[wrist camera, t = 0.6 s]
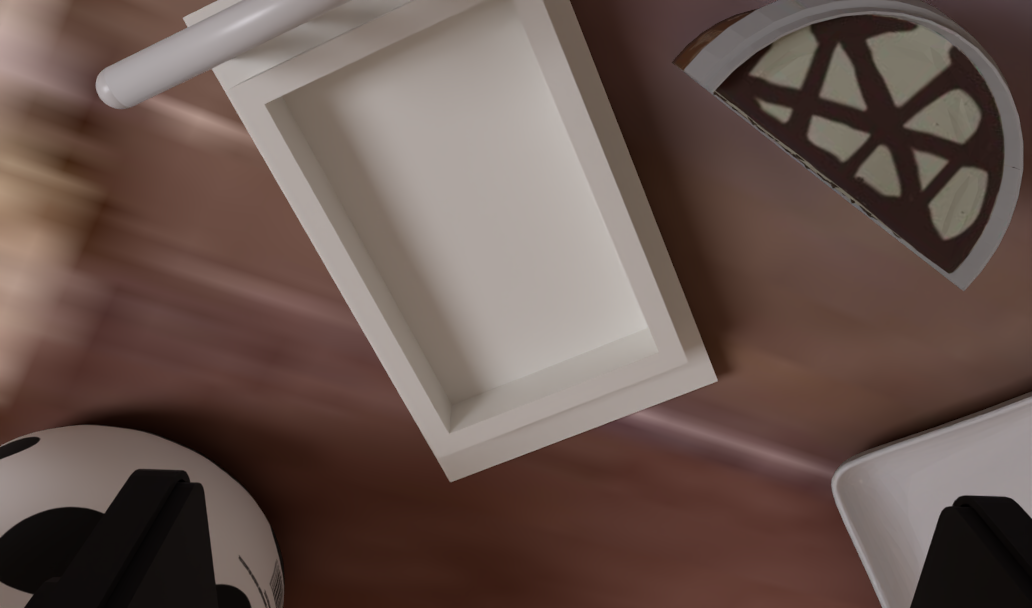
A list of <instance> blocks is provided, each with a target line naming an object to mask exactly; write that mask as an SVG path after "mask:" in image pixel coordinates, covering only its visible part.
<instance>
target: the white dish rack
mask: <svg viewBox="0 0 1032 608" xmlns="http://www.w3.org/2000/svg"><path fill="white" fill-rule="evenodd" d="M183 20H184V21H185V23H186V25H187V26H188V28H186V29H184V30H182V31H180V32H178V33H176V34H174V35H172V36H170V37H168V38H166V39H163V40H161V41H159V42H157V43H155V44H153V45H151V46H149V47H147V48H145V49H143V50H141V51H139V52H137V53H135V54H133V55H131V56H129V57H127V58H125V59H123V60H121V61H119V62H117V63H115V64H113V65H111V66H109V67H107V68H105V69H104V70H102V71H101V72H100V74H99V75H98V77H97V80H96V90H97V93H98V95H99V97H100V98H101V100H102V101H103V102H104V103H106V104H107V105H109V106H110V107H113V108H116V109H127V108H130V107H133V106H135V105H137V104H139V103H141V102H143V101H145V100H147V99H149V98H152V97H154V96H156V95H158V94H160V93H162V92H164V91H166V90H168V89H170V88H173V87H175V86H177V85H179V84H181V83H183V82H185V81H187V80H189V79H191V78H193V77H196V76H198V75H200V74H202V73H204V72H206V71H208V70H210V69H212V70H213V72H214V73H215V75H216V77H217V79H218V80H219V82H220V84H221V85H222V87H223V89H224V91H225V92H226V94H227V96H228V98H229V99H230V101H231V103H232V105H233V106H234V108H235V110H236V111H237V113H238V115H239V117H240V118H241V120H242V122H243V124H244V125H245V127H246V129H247V131H248V132H249V134H250V136H251V137H252V139H253V141H254V143H255V144H256V146H257V148H258V150H259V151H260V153H261V155H262V157H263V158H264V160H265V162H266V164H267V165H268V167H269V169H270V170H271V172H272V174H273V176H274V177H275V179H276V181H277V183H278V184H279V186H280V188H281V190H282V191H283V193H284V195H285V196H286V198H287V200H288V202H289V203H290V205H291V207H292V209H293V210H294V212H295V214H296V216H297V217H298V219H299V221H300V222H301V224H302V226H303V228H304V229H305V231H306V233H307V235H308V236H309V238H310V240H311V242H312V243H313V245H314V247H315V249H316V250H317V252H318V254H319V255H320V257H321V259H322V261H323V262H324V264H325V266H326V268H327V269H328V271H329V273H330V275H331V276H332V278H333V280H334V281H335V283H336V285H337V287H338V288H339V290H340V292H341V294H342V295H343V297H344V299H345V301H346V302H347V304H348V306H349V307H350V309H351V311H352V313H353V314H354V316H355V318H356V320H357V321H358V323H359V325H360V327H361V328H362V330H363V332H364V334H365V335H366V337H367V339H368V340H369V342H370V344H371V346H372V347H373V349H374V351H375V353H376V354H377V356H378V358H379V360H380V361H381V363H382V365H383V366H384V368H385V370H386V372H387V373H388V375H389V377H390V379H391V380H392V382H393V384H394V386H395V387H396V389H397V391H398V392H399V394H400V396H401V398H402V399H403V401H404V403H405V405H406V406H407V408H408V410H409V412H410V413H411V415H412V417H413V419H414V420H415V422H416V424H417V425H418V427H419V429H420V431H421V432H422V434H423V436H424V438H425V439H426V441H427V443H428V445H429V446H430V448H431V450H432V451H433V453H434V455H435V457H436V458H437V460H438V462H439V464H440V465H441V467H442V469H443V471H444V472H445V474H446V476H447V478H448V479H449V481H450V482H453V481H456V480H458V479H461V478H463V477H466V476H469V475H471V474H474V473H477V472H479V471H482V470H485V469H487V468H490V467H493V466H495V465H498V464H500V463H503V462H506V461H508V460H511V459H514V458H516V457H519V456H522V455H524V454H527V453H529V452H532V451H535V450H537V449H540V448H543V447H545V446H548V445H551V444H553V443H556V442H558V441H561V440H564V439H566V438H569V437H572V436H574V435H577V434H580V433H582V432H585V431H588V430H590V429H593V428H595V427H598V426H601V425H603V424H606V423H609V422H611V421H614V420H617V419H619V418H622V417H624V416H627V415H630V414H632V413H635V412H638V411H640V410H643V409H646V408H648V407H651V406H653V405H656V404H659V403H661V402H664V401H667V400H669V399H672V398H675V397H677V396H680V395H682V394H685V393H688V392H690V391H693V390H696V389H698V388H701V387H704V386H706V385H709V384H712V383H714V382H717V381H718V380H717V377H716V375H715V372H714V370H713V367H712V364H711V362H710V359H709V357H708V354H707V352H706V349H705V346H704V344H703V341H702V339H701V336H700V334H699V331H698V328H697V326H696V323H695V321H694V318H693V316H692V313H691V310H690V308H689V305H688V303H687V300H686V298H685V295H684V292H683V290H682V287H681V285H680V282H679V280H678V277H677V274H676V272H675V269H674V267H673V264H672V262H671V259H670V256H669V254H668V251H667V249H666V246H665V244H664V241H663V238H662V236H661V233H660V231H659V228H658V226H657V223H656V221H655V218H654V215H653V213H652V210H651V208H650V205H649V203H648V200H647V197H646V195H645V192H644V190H643V187H642V185H641V182H640V179H639V177H638V174H637V172H636V169H635V167H634V164H633V161H632V159H631V156H630V154H629V151H628V149H627V146H626V143H625V141H624V138H623V136H622V133H621V131H620V128H619V125H618V123H617V120H616V118H615V115H614V113H613V110H612V107H611V105H610V102H609V100H608V97H607V95H606V92H605V89H604V87H603V84H602V82H601V79H600V77H599V74H598V72H597V69H596V66H595V64H594V61H593V59H592V56H591V54H590V51H589V48H588V46H587V43H586V41H585V38H584V36H583V33H582V30H581V28H580V25H579V23H578V20H577V18H576V15H575V12H574V10H573V7H572V5H571V2H570V0H218V1H216V2H214V3H212V4H210V5H208V6H206V7H204V8H202V9H200V10H198V11H196V12H194V13H192V14H190V15H188V16H186V17H184V18H183Z"/></svg>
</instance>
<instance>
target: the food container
mask: <svg viewBox="0 0 1032 608" xmlns="http://www.w3.org/2000/svg"><path fill="white" fill-rule="evenodd" d="M672 63H673V64H674V65H676V66H677V67H678V68H679V69H681V70H682V71H683V72H685V73H686V74H687V75H688V76H690V77H691V78H692V79H693V80H695V81H696V82H697V83H698V84H700V85H701V86H702V87H704V88H705V89H706V90H707V91H709V92H710V93H711V94H712V95H714V96H715V97H716V98H717V99H719V100H720V101H721V102H723V103H724V104H725V105H726V106H728V107H729V108H730V109H731V110H733V111H734V112H735V113H736V114H738V115H739V116H740V117H742V118H743V119H744V120H745V121H747V122H748V123H749V124H750V125H752V126H753V127H754V128H755V129H757V130H758V131H759V132H761V133H762V134H763V135H764V136H766V137H767V138H768V139H769V140H771V141H772V142H773V143H774V144H776V145H777V146H778V147H780V148H781V149H782V150H783V151H785V152H786V153H787V154H788V155H790V156H791V157H792V158H793V159H795V160H796V161H797V162H799V163H800V164H801V165H802V166H804V167H805V168H806V169H807V170H809V171H810V172H811V173H812V174H814V175H815V176H816V177H818V178H819V179H820V180H821V181H823V182H824V183H825V184H826V185H828V186H829V187H830V188H831V189H833V190H834V191H835V192H837V193H838V194H839V195H840V196H842V197H843V198H844V199H846V200H847V201H848V202H849V203H851V204H852V205H853V206H855V207H856V208H857V209H859V210H860V211H861V212H862V213H864V214H865V215H866V216H868V217H869V218H870V219H871V220H873V221H874V222H875V223H877V224H878V225H879V226H880V227H882V228H883V229H884V230H886V231H887V232H888V233H889V234H891V235H892V236H893V237H895V238H896V239H897V240H898V241H900V242H901V243H902V244H904V245H905V246H906V247H908V248H909V249H910V250H911V251H913V252H914V253H915V254H917V255H918V256H919V257H920V258H922V259H923V260H924V261H926V262H927V263H928V264H929V265H931V266H932V267H933V268H935V269H936V270H937V271H938V272H940V273H941V274H942V275H943V276H945V277H946V278H947V279H949V280H950V281H951V282H952V283H954V284H955V285H956V286H958V287H959V288H960V289H962V290H963V291H965V289H966V288H967V287H968V286H969V285H970V284H971V283H972V281H973V280H974V279H975V278H976V277H977V276H978V275H979V274H980V272H981V271H982V270H983V268H984V267H985V265H986V264H987V262H988V261H989V259H990V258H991V257H992V255H993V254H994V252H995V251H996V249H997V248H998V246H999V244H1000V242H1001V240H1002V238H1003V236H1004V234H1005V232H1006V230H1007V228H1008V226H1009V224H1010V221H1011V218H1012V215H1013V212H1014V209H1015V206H1016V203H1017V200H1018V197H1019V191H1020V185H1021V179H1022V173H1023V138H1022V132H1021V126H1020V120H1019V115H1018V112H1017V110H1016V106H1015V103H1014V100H1013V98H1012V95H1011V92H1010V89H1009V86H1008V83H1007V81H1006V80H1005V78H1004V76H1003V75H1002V73H1001V71H1000V69H999V68H998V66H997V64H996V63H995V61H994V59H993V58H992V57H991V56H990V55H989V54H988V52H987V51H986V50H985V49H984V48H983V47H982V46H981V45H980V43H979V42H978V41H977V40H976V39H975V38H974V37H973V36H972V35H970V34H969V33H968V32H967V31H966V30H964V29H963V28H962V27H961V26H960V25H958V24H957V23H956V22H954V21H953V20H952V19H950V18H949V17H947V16H946V15H945V14H943V13H942V12H941V11H939V10H938V9H937V8H935V7H933V6H931V5H929V4H927V3H925V2H922V1H920V0H778V1H776V2H774V3H771V4H769V5H767V6H764V7H762V8H760V9H756V10H751V11H748V12H744V13H741V14H737V15H734V16H732V17H730V18H728V19H725V20H723V21H721V22H719V23H717V24H715V25H714V26H712V27H711V28H709V29H707V30H706V31H704V32H703V33H701V34H700V35H699V36H698V37H697V38H695V39H694V40H693V41H692V42H691V43H689V44H688V45H687V46H686V47H685V48H684V49H683V51H682V52H681V53H680V54H679V55H678V56H677V57H676V59H675V60H674V61H673V62H672Z"/></svg>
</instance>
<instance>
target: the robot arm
mask: <svg viewBox="0 0 1032 608" xmlns="http://www.w3.org/2000/svg"><path fill="white" fill-rule="evenodd" d="M24 608H218V600H217V591H216V583H215V575H214V567H213V558H212V550H211V542H210V534H209V525H208V517H207V509H206V501H205V493H204V488H203V486H202V484H201V483H198V482H190V478H189V476H188V474H187V472H186V471H184V470H164V469H137V470H135V471H134V472H133V473H132V474H131V475H130V476H129V478H128V479H127V481H126V482H125V484H124V485H123V487H122V488H121V490H120V491H119V493H118V494H117V496H116V497H115V499H114V500H113V501H112V503H111V504H110V506H109V507H108V509H107V510H106V512H105V513H104V515H103V516H102V518H101V519H100V521H99V522H98V524H97V525H96V526H95V528H94V529H93V531H92V532H91V534H90V535H89V537H88V538H87V540H86V541H85V543H84V544H83V546H82V547H81V549H80V550H79V551H78V553H77V554H76V556H75V557H74V559H73V560H72V562H71V563H70V565H69V566H68V568H67V569H66V571H65V572H64V574H63V575H62V576H61V577H52V578H51V579H49V580H47V581H45V582H44V583H43V584H42V585H41V586H40V587H39V588H38V589H37V591H36V592H35V593H34V594H33V596H32V597H31V599H30V600H29V601H28V603H27V604H26V606H25V607H24ZM910 608H1032V518H1031V517H1030V516H1029V515H1028V514H1027V513H1026V512H1025V511H1024V509H1023V508H1022V507H1021V506H1020V505H1019V504H1018V503H1017V502H1016V501H1014V500H1013V499H1012V498H1009V497H1005V496H973V495H964V496H960V497H958V498H957V499H956V500H955V501H954V503H953V505H952V506H948V507H945V508H944V509H943V510H942V511H941V514H940V516H939V519H938V522H937V525H936V528H935V531H934V534H933V537H932V541H931V544H930V547H929V550H928V553H927V556H926V559H925V562H924V566H923V569H922V572H921V575H920V578H919V581H918V584H917V587H916V591H915V594H914V597H913V600H912V603H911V606H910Z"/></svg>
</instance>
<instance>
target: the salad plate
mask: <svg viewBox="0 0 1032 608" xmlns="http://www.w3.org/2000/svg"><path fill="white" fill-rule="evenodd" d="M831 486H832V492H833V496H834V499H835V502H836V505H837V507H838V510H839V512H840V514H841V517H842V519H843V522H844V524H845V526H846V529H847V531H848V533H849V535H850V537H851V539H852V541H853V543H854V546H855V548H856V550H857V552H858V554H859V557H860V559H861V561H862V563H863V565H864V567H865V570H866V572H867V574H868V576H869V578H870V581H871V583H872V585H873V588H874V590H875V592H876V594H877V597H878V599H879V601H880V603H881V606H882V608H910V606H911V603H912V600H913V597H914V594H915V591H916V587H917V584H918V581H919V578H920V575H921V572H922V569H923V566H924V562H925V559H926V556H927V553H928V550H929V547H930V544H931V541H932V537H933V534H934V531H935V528H936V525H937V522H938V519H939V516H940V514H941V511H942V510H943V509H944V508H945V507H948V506H952V505H953V503H954V501H955V500H956V499H957V498H958V497H960V496H964V495H973V496H1005V497H1009V498H1012V499H1013V500H1014V501H1016V502H1017V503H1018V504H1019V505H1020V506H1021V507H1022V508H1023V509H1024V511H1025V512H1026V513H1027V514H1028V515H1029V516H1030V517H1031V518H1032V391H1031V392H1029V393H1026V394H1023V395H1021V396H1018V397H1016V398H1013V399H1010V400H1008V401H1005V402H1003V403H1000V404H997V405H995V406H992V407H990V408H987V409H984V410H982V411H979V412H976V413H973V414H970V415H968V416H965V417H962V418H959V419H956V420H954V421H951V422H948V423H945V424H942V425H940V426H937V427H934V428H931V429H928V430H925V431H922V432H919V433H916V434H913V435H910V436H907V437H904V438H901V439H898V440H895V441H892V442H889V443H886V444H883V445H880V446H877V447H874V448H871V449H869V450H866V451H864V452H861V453H859V454H857V455H855V456H853V457H851V458H849V459H847V460H846V461H845V462H843V463H842V464H841V465H840V466H839V468H838V469H837V470H836V471H835V473H834V475H833V477H832V482H831Z"/></svg>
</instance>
